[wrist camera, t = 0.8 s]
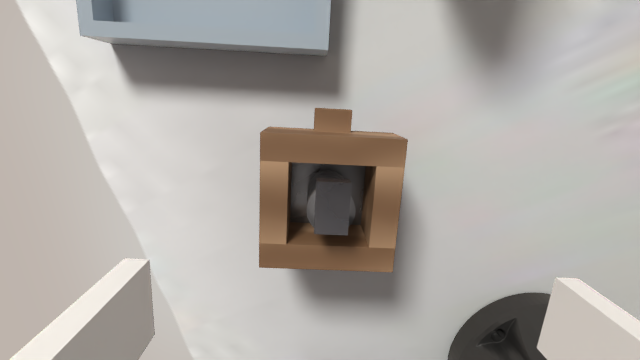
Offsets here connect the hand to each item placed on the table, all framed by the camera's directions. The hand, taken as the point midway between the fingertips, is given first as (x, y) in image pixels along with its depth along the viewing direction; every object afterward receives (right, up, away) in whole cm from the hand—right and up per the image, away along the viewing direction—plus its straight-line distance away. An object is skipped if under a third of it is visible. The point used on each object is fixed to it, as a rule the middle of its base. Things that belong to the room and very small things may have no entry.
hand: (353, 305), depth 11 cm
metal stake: (-1, +4, +18) cm, 19 cm away
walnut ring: (-1, +3, +14) cm, 15 cm away
